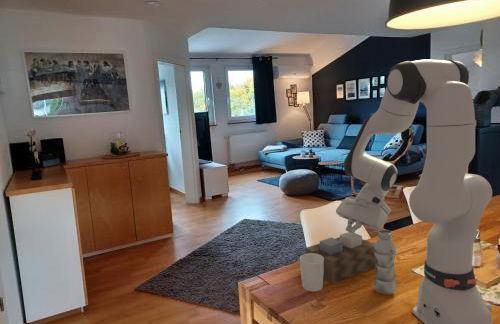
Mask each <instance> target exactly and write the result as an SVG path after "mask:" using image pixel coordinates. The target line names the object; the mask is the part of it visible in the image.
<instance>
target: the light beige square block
mask: <svg viewBox="0 0 500 324" xmlns="http://www.w3.org/2000/svg"><path fill="white" fill-rule="evenodd" d="M339 237H340V241H341V242H343V245H344V246H346V247H348V248H350V249H351V248H354V247H357V246H360V245H362V239H363V235H361V234H359V233H355V232H354V233H351V232H348V231H347V232H344V233H341V234H339Z"/></svg>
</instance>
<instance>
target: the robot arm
mask: <svg viewBox="0 0 500 324" xmlns="http://www.w3.org/2000/svg"><path fill="white" fill-rule="evenodd" d="M386 77H387V78H386V88H385V89H384V92H383V95H382V97H381V99H380V101H381V102H380V104H379V107H378V109H377V111H376V112H373V113H370V114H369V115H368V116H367V117H365V120H364V121H363V123H362V125H361V126H360V129H359V131H358V133H357V135H356V137H355V139H354V141H353V143H352V146H351V148H350V150H349V152H348V153H347V154H346V157H345V158H344V161H343V163H342V166H343V170H344V173H345V174H346V175H347V176H349V177H352V178H355V179H358V180H361V181H362V182H365V185H363V186H362V187H361V189H360V191H358V193H357V195H356V196H353V195H350V196H347V197H345V199H343V200H342V201H341V203H340V204H338V206H337V208H336V210H335V214H336V215H337V216H338V217H340V218H343V219H344V220H345V219H346V220H347V226H346V227H345V231H346V232H347V233H348V232H351V233H355V232H356V231H357V230H359V229H361V228H362V226H365V227H367V228H370V229H373V230H376V231H380V230H383V229H382V228H384V225H385V224H386V222H387V220H388V217H389V215H390V213H391V211H392V210H391V208H390V206H389V205H388V204H387V203H386V202H385V201H384V200H385V198H386V197H385V196H386V195H387V194H388V193H389V191H391V190H392V188H393V187H394V185H395V183H396V181H397V178H398V169H397V167H396V166H395V164H393V163H391V162H389V161H386V160H383V159H380V158H378V157H375V156H373V155H370V154H368V153H367V152H366V151H365V150H366V147H367V145H368V144H369V142H370V140H371V137H372V136H373V135H397V134H400V133H403V132H405V131H406V130H408V129H409V128H410V127H411V126H412V124H413V122H414V119H416V118H415V117H416V114H417V112H418V108H419V105H420V103H422V104H423V105H424V106H425V109H426V155H425V156H426V157H425V161H424V165H423V169H422V173H421V176H420V178H419V181H418V183H417V184H416V185H415V187H414V188H413V189H412V191H411V192H410V195H409V199H408V201H409V207H410V210H411V213H412V215H414V216H415V217H416V218H417V219H419V221H422V222H423V223H432V224H433V223H434V224H433V226H432V227H431V229H430V230H429V232H428V233H427V237H426V259H425V260H424V265H423V274H424V277H423V280H422V281H421V282H420V284H419V286H418V293H417V303H416V305H415V306H414V307H413V308H412V313H413V315H414V316H416V318H417V319H419V320H420V321H421V322H422V323H424V324H493V319H492V314H491V312H492V311H493V309H492V305H491V303H489V302H485V301H484V299H483V297H482V292H481V291H479V290H478V288H477V286H476V285H477V284H478V282H477V281H478V279H476V274H475V271H474V268H473V255H474V244H475V239H476V235H477V232H478V228H479V225H480V222H481V219H482V216H483V214H484V211H485V209H486V207H487V206H488V204H489V203H490V202H491V200H492V197H493V189H492V186H491V184H490V182H489V181H488V180H487V179H486V178H485V177H483V176H482V175H480V174H475V173H466V172H467V170H468V167H469V164H470V163H471V162H472V160H473V159H474V156H475V154H476V115H475V114H476V113H475V105H474V104H475V103H474V100H473V95H472V91H471V88H470V86H469V85H468V84H469V81H470V75H469V70H468V68H467V66H466V64H464V63H463V62H461V61H457V60H452V59H446V60H445V59H444V60H442V59H419V60H413V61H410V60H407V61H403V62H400V63H397V64H395V65H393V66H392V67H391V68H390V70H389V71H388V74H387V76H386Z"/></svg>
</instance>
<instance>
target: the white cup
mask: <svg viewBox="0 0 500 324" xmlns="http://www.w3.org/2000/svg"><path fill="white" fill-rule="evenodd" d="M299 268H300V278H301V285H302V289H304V290H305V291H308V292H318V291H321V290H322V289H323V287H324V279H323V274H324V257H323V256H321V255H319V254H315V253H308V254H306V253H304V254H302V255H300V256H299Z"/></svg>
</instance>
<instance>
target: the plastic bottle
mask: <svg viewBox="0 0 500 324" xmlns="http://www.w3.org/2000/svg"><path fill="white" fill-rule="evenodd" d="M377 235H378V239H377V240H376V241H375V243H373V244H374V254H375V262H376V267H375V273H374V278H373V288H374V290H375V291H376V292H377V293H379V294H381V295H383V296H384V295H385V296H386V295H387V296H388V295H389V296H390V295H393V294H394V293H395V292H396V290H397V281H396V276H395V275H396V274H395V263H396V262H395V261H396V255H397V246H396V245H395V242H394V241H393V240H392V238H393V236H392V235H393V234H392V230H389V229H380V230H378V234H377Z"/></svg>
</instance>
